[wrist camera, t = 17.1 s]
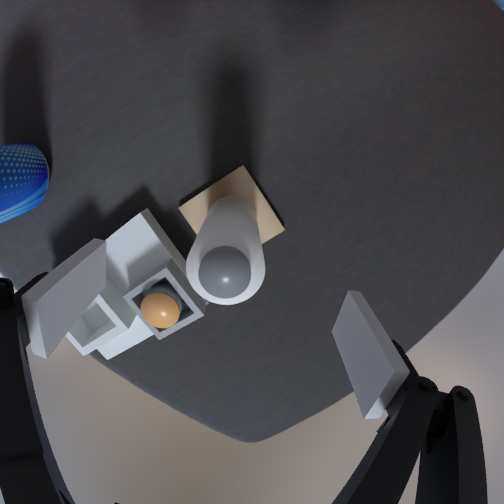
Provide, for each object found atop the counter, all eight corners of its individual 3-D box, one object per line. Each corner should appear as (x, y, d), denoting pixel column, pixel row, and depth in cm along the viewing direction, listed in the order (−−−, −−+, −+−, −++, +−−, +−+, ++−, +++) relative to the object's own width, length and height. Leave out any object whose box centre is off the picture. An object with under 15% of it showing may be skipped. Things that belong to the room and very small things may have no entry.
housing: (147, 207, 32) (128, 221, 26) (210, 293, 35) (204, 320, 30) (57, 281, 35) (34, 302, 29) (113, 349, 38) (98, 376, 32)
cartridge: (211, 191, 31) (187, 230, 18) (260, 198, 31) (272, 241, 18) (205, 238, 32) (181, 305, 19) (252, 244, 33) (258, 315, 20)
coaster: (243, 164, 31) (243, 165, 30) (284, 228, 33) (284, 230, 32) (179, 207, 32) (178, 208, 31) (221, 266, 34) (221, 268, 34)
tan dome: (169, 273, 31) (162, 286, 28) (191, 302, 32) (187, 317, 29) (141, 291, 32) (132, 305, 29) (164, 318, 33) (157, 334, 30)
